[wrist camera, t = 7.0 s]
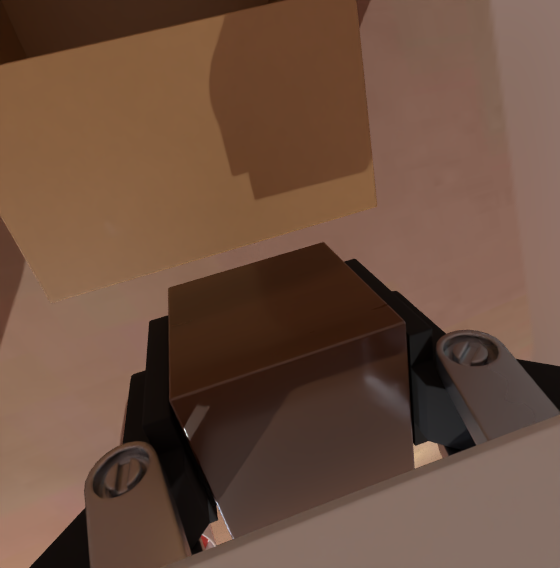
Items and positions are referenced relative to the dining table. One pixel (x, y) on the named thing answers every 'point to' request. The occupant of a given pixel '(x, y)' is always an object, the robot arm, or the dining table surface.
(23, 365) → the dining table surface
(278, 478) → the block
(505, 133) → the dining table surface
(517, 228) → the dining table surface
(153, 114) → the carton
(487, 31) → the dining table surface
